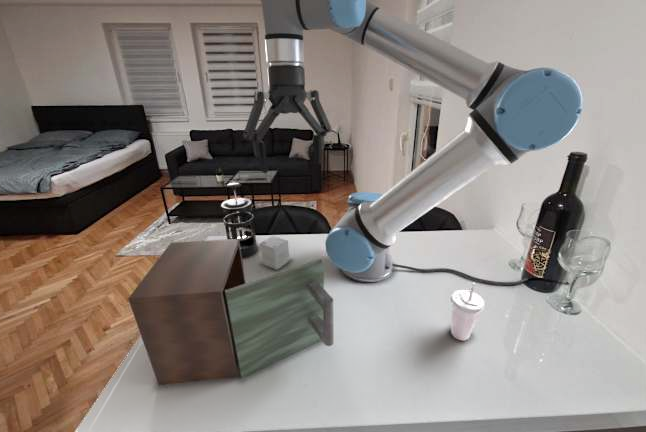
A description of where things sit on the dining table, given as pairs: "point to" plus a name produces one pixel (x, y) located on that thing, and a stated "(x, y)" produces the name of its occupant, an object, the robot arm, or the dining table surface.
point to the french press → (245, 233)
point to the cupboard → (190, 311)
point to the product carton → (275, 252)
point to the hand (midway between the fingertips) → (292, 167)
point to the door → (279, 316)
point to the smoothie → (465, 312)
